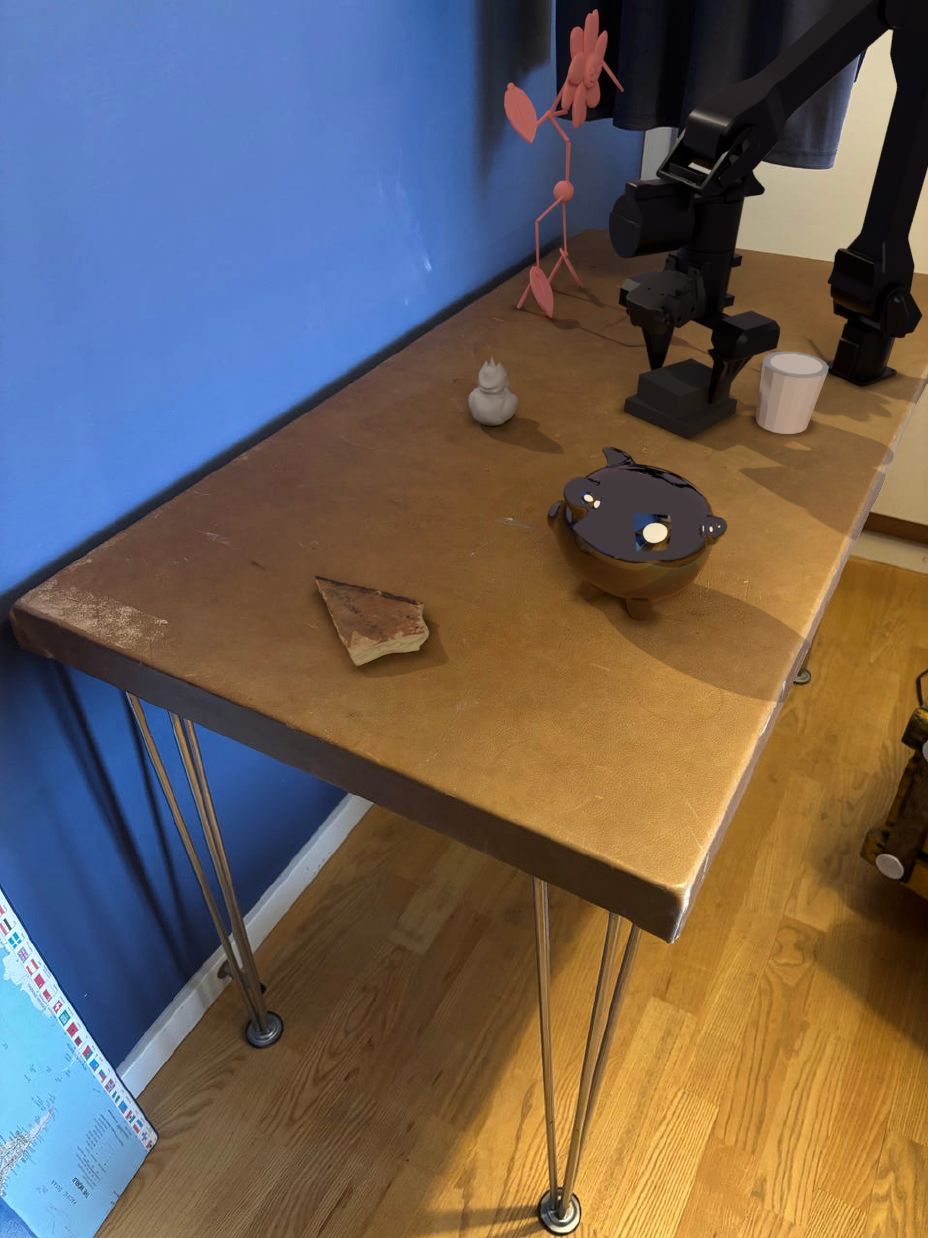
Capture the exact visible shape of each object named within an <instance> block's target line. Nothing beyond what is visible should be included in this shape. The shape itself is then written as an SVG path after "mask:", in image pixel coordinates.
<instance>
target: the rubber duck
mask: <svg viewBox="0 0 928 1238" xmlns="http://www.w3.org/2000/svg"><path fill="white" fill-rule="evenodd" d="M477 386H478V387H476V388H474V389H473V390H472V391H471V392H470V394H469V396H468V408H469V411H470V413H471V414H472V418H473V419H474V421H476V422H477V423H479V424H482V425H485V426H490V427H495V426H501V425H503V424H504V423H505V422H507V421H509V420H511V418H512V417H513V416H514V415H515V413H516V412H517V410H518V406H519V405H518V404H519V399H518V397H517V395H516V394H515V393H513V392H511V391H510V381H509V380H508V372H507V370H506V369H505V367H503V365H502V364H501V362H498V364H497V365H496V363H495V359H494V357H493V355H491V357H490V360H489V362H488V360H485V361H484V363H483V366H482V367H481V369H480V370H479V373H478V379H477Z"/></svg>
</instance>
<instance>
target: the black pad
mask: <svg viewBox="0 0 928 1238" xmlns="http://www.w3.org/2000/svg"><path fill="white" fill-rule="evenodd" d="M712 368H713V367H710V366H708V365H707V364H704V363H702V362H700V361H698V360H696V359H694V358H691V357H690V358H688V359H684V360H681V361H678V362H675V363H671V364H668V365H663V366H662V367H661V368H658V369H655V370H651V369H650V370H648V371H645V372H642V373H639V374H638V379H637V387H636V393H637V394H636V393H635V394H636V397H637V398H638V399H640V400H642V401H644V402H646V403H647V404H649V405H651V406H653V407H654V408H656V409H658V410H660V411H661V412H663V413H665V414H667V415H668V416H670V417H672V418H674V419H678V418H681V417H684V416H687V415H690V414H693V413H696V412H699V411H702V410H705V409H708V408H711V407H713V406H716V405H719V404H722V403H725V402H728V398H729V397H730V393H731V388H732V383H731V384H730V386H729V387H728V388H727V390H726V391H725V393H724V394H723V395H722V397H721V398H720V399H719V401H718V402H717V403H714V404H709V403H708V398H709V387H710V381H711V375H712Z"/></svg>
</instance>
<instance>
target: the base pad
mask: <svg viewBox="0 0 928 1238" xmlns="http://www.w3.org/2000/svg"><path fill="white" fill-rule="evenodd" d="M636 394H637V392H636V393H634V394H632V395H630V396H628V397H626V398H625V399H624V406H623V407H624V408H623V412H625V413H627V414H629V415H632V416H634V417H636V418H639V419H640V420H643V421H645V422H648V423H651V424H652V425H655V426H656V427H659V428H661V429H663V430H666V431H669V432H670V433H673V434H675V435H677V436H680V437H682V438H685V439H687V440H688V439H690V438H692V437H694V436H696V435H697V434H699V433H702V432H703V431H705V430H707V429H708V428H711V427H712V426H714V425H716V424H718V423H720V422H721V421H724V420H725V419H727V418H729V417H731V416H732V415H735V414H736V410H737V407H738V402H739V401H738V400H737V399H735V398H732V397H730V396H729V398H728V402H725V403H722V404H719V405H716V406H713V407H711V408H708V409H705V410H702V411H699V412H696V413H693V414H690V415H687V416H684V417H681V418H678V419H674V418H672V417H670V416H668V415H667V414H665V413H663V412H661V411H660V410H658V409H656V408H654V407H653V406H651V405H649V404H647V403H646V402H644V401H642V400H640V399H638V398H637V397H636Z"/></svg>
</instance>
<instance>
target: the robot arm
mask: <svg viewBox="0 0 928 1238" xmlns="http://www.w3.org/2000/svg"><path fill="white" fill-rule="evenodd" d="M888 31H892V34H891V42H890V49H889V57H890V61H891V66H892V70H893V75H894V79H895V83H896V91H895V95H894V99H893V103H892V107H891V110H890V111H891V112H890V114H889V117H888V118H889V119H888V122H887V126H886V131H885V134H884V139H883V143H882V147H881V151H880V154H879V158H878V163H877V167H876V170H875V171H876V172H875V175H874V179H873V183H872V186H871V191H870V194H869V198H868V202H867V207H866V210H865V216H864V218H863V222H862V227H861V230H860V233H859V234H858V235H857V236H856V237H855V238H854V239H853V240H852V242H851V243H850V244H849V245H848V246H847V247H846V248H845V247H844V248H843V247H842V248H838V249H837V251H836V252H835V254H834V256H833V257H834V259H833V266H832V271H831V272H830V273H831V274H830V275H829V278H828V279H827V281H826V283H827V284H828V285H830V289H829V294H830V297H831V298H832V307H833V309H832V311H833V314H834V315H836V316H839V317H842V318H843V319H846V322H845V323H844V324H843V329H842V332H841V336H840V338H839V340H838V343H837V347H836V350H835V354H834V358H833V360H829V361H827V362H826V361H825V362H826V364H827V365H828V366H829V369H828V373H831V374H834V375H836V376H838V377H840V378H843V379H845V380H846V381H849V382H851V383H853V384H855V385H857V386H861V387H866V386H869V385H872V384H875V383H878V382H880V381H883V380H886V379H889V378H892V377H894V376H896V375H897V373H898V370H897V369H895V368H892V367H890V366H888V363H889V360H890V356H891V353H892V351H893V347H894V343H895V341H896V339H905V338H906V335H909V334H912V333H914V332H915V330H916V328H917V327H918V325H919V323H920V322H921V320H922V318H923V313H922V311H921V310H920V308H919V306H918V304H917V302H916V300H915V298H914V296H913V295H912V293H911V291H912V285H913V279H914V273H915V261H914V257H913V253H912V248H911V244H910V239H909V238H910V232H911V229H912V226H913V225H912V224H913V222H914V219H915V215H916V211H917V208H918V204H919V200H920V197H921V194H922V190H923V186H924V183H925V179H926V177H927V173H928V0H840V1H839V2H838V3H837V4H836V5H835V6H833V7H832V8H831V9H830V10H829V11H828V12H827V13H826V14H824V16H822V17H821V18H820V19H819V20H817V22H815V23H814V24H813V25H812V26H811V27H810V28H808V29H807V30H806V31H805V32H804V33H803V34H801V36H800V37H798V38H797V39H796V40H795V41H794V42H793V43H792V44H791V45H789V46H788V47H787V48H786V49H785V50H784V51H782V52H781V53H780V54H779V55H778V56H777V57H776V58H774V60H772V62H770V63H769V64H768V65H767V66H766V67H765V68H763V69H761V71H759V72H758V73H756V74H754V75H753V76H752V77H750V78H746V79H744V80H742V81H739V82H736V83H734V84H732V85H731V84H730V85H728V86H725V87H724V88H723V89H721V90H719V91H718V92H716V93H715V94H713V95H712V96H710V97H708V98H707V99H705V100H704V101H702V102H700V103H699V104H697V106H696V107H695V108H694V109H693V110H692V111H691V112H690V114H689V115H688V116H687V119H685V127H684V129H683V131H682V132H681V134H680V135H679V137H678V138H677V140H676V141H675V142H674V144H673V145H672V147H671V149H670V150H669V152H668V153H667V155H666V156H665V157H664V159H663V161H662V163H661V164H660V165H659V166H658V169H657V170H656V172H655V176H656V178H654V179H644V180H643V179H639V178H638V179H637V178H635V179H629V180H626V181H625V184H624V194H622V195H619V197H618V198H617V199H616V200H615V202H614V203H613V206H612V210H611V211H610V212H609V216H608V235H609V239H610V243H611V245H612V248H613V250H614V251H615V253H616V254H617V255H618V256H619V257H620V258H622V259H632V258H639V257H643V256H652V255H657V254H663V253H667V257H666V258H665V261H664V266H663V269H662V271H659V270H654V271H649V272H646V273H642V274H637V275H633V276H630V277H627V278H626V279H625V280H624V282H623V284H622V285H621V286H620V288H619V297H618V305H620V306H622V307H624V308H625V309H626V308H627V309H626V310H625V313H626V314H627V315H628V316H629V320H630V324H631V325H632V326H634V327H639V328H640V329H641V332H642V335H643V340H644V344H645V349H646V354H647V358H648V363H649V368H650V371H651V370H655V369H658V368H661V367H664V364H665V361H666V359H667V356H668V351H669V347H670V344H671V341H672V338H673V335H674V331H675V328H676V329H681V328H682V327H683V326H685V325H686V324H688V323H689V322H690V321H692V322H694V323H696V324H698V325H701V326H702V327H705V328H707V329H709V330H711V336H710V342H711V344H712V347H713V348H709V349H707V353H708V355H709V356H710V359H712V367H711V368H712V375H711V381H710V387H709V398H708V403H709V404H714V403H717V402H718V401H719V399H720V398H721V397H722V395H723V394H724V393H725V391H726V390H727V388H728V387H729V386H730V384H731V385H732V383H733V382H734V380H735V379H736V378H737V376H738V375H739V374H740V372H741V371H742V370H743V369H744V367H745V366H746V365H747V364H748V363H749V362H750V361H751V359H752V358H753V357H754V356H758V355H760V354H764V353H766V352H770V351H774V350H776V349H778V345H779V340H780V335H781V326H780V325H779V323H778V322H777V320H775V319H773V318H771V317H768V316H765V315H763V314H761V313H758V312H756V311H754V310H749V311H744V312H741V313H738V314H734V315H730V314H727V313H725V312H724V310H725V309H726V308H729V307H733V306H734V303H735V298H736V296H735V295H734V294H732V293H729V292H728V291H729V285H730V281H731V274H732V269H735V268H738V267H741V266H742V263H743V255H742V254H738V253H736V247H737V243H738V238H739V237H738V235H739V231H740V226H741V221H742V214H743V211H744V210H743V209H744V204H745V199H746V198H749V197H755V196H756V197H757V196H762V195H764V193H765V192H766V188H765V186H764V185H763V184H762V183H761V182H760V181H759V180H758V178H757V177H756V175H755V173H754V171H755V169H756V168H757V167H758V166H759V165H760V164H761V162H763V160H764V159H765V158H766V157H767V156H768V155H769V153H770V152H771V151H772V150H773V149H774V148H775V147H776V146H777V145H778V143H779V142H780V139H781V137H782V134H783V132H784V129H785V127H786V124H787V121H788V120H789V119H790V118H791V117H792V116H793V115H794V114H795V112H796V111H797V110H799V109H800V108H801V107H802V106H803V105H804V104H806V103H807V102H808V101H809V100H810V99H811V98H813V97H814V96H815V95H816V94H817V93H818V92H819V91H820V90H822V89H823V88H824V87H825V86H826V85H827V84H828V83H830V82H831V81H832V80H833V79H834V78H835V77H836V76H838V74H840V73H841V72H842V71H843V70H844V69H845V68H847V67H848V66H849V65H850V64H851V63H852V62H854V61H855V59H857V58H858V57H859V56H861V54H863V53H864V52H865V51H866V50H867V49H869V47H871V46H872V45H873V44H874V43H876V41H878V39H880V38H881V37H882V36H884V35H885V34H886V33H887V32H888ZM692 164H694V165H696V166H698V167H701V168H703V169H706V170H708V171H709V173H706V172H704V171H701V170H699V169H696V168H694V167H691V166H690V165H692Z"/></svg>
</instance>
